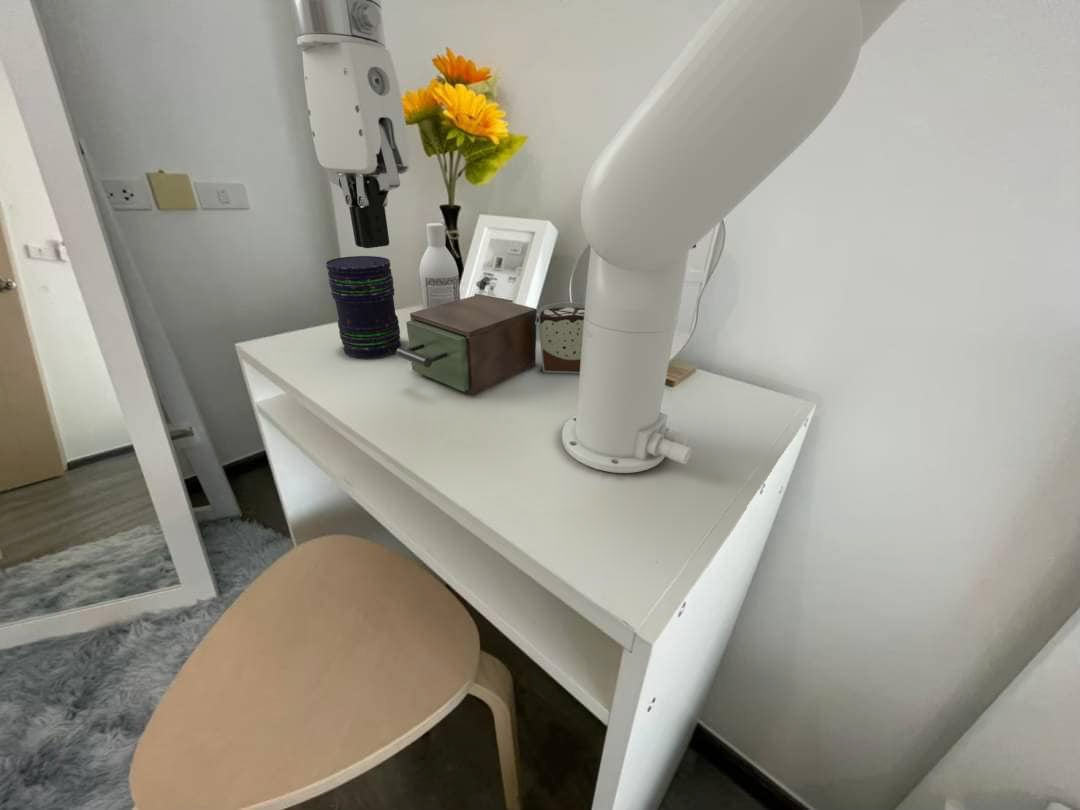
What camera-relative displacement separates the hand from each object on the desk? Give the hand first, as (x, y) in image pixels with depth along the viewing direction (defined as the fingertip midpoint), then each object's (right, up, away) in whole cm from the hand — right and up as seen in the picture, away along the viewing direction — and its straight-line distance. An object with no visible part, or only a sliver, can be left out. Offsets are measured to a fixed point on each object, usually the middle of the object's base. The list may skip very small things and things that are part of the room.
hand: (373, 245), depth 48 cm
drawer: (+6, -12, +20) cm, 24 cm away
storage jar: (-11, -8, +30) cm, 33 cm away
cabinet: (+8, -12, +23) cm, 27 cm away
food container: (+24, -11, +25) cm, 36 cm away
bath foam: (0, -4, +37) cm, 37 cm away
